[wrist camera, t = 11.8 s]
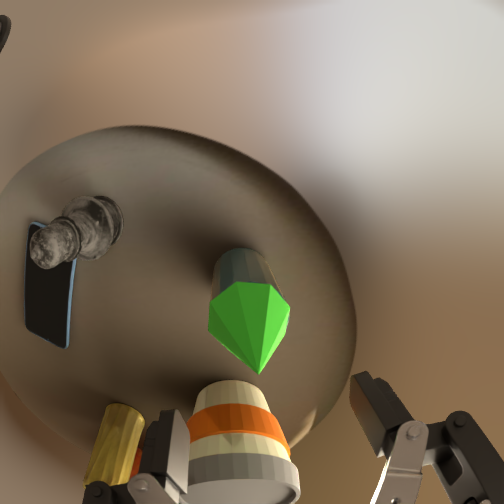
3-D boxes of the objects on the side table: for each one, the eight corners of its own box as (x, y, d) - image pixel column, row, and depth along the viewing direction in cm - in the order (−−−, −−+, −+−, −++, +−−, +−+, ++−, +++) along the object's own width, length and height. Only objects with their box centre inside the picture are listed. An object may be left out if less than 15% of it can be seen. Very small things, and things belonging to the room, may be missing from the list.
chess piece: (76, 246, 25) (7, 290, 14) (78, 191, 24) (1, 207, 12) (124, 254, 26) (68, 306, 15) (128, 195, 25) (64, 214, 13)
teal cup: (207, 253, 27) (200, 291, 18) (265, 242, 27) (283, 275, 19) (220, 305, 29) (219, 357, 20) (273, 294, 29) (292, 343, 20)
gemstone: (280, 268, 19) (304, 310, 13) (298, 340, 20) (321, 393, 14) (193, 293, 18) (181, 344, 13) (221, 362, 20) (222, 420, 14)
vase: (110, 396, 31) (80, 476, 17) (150, 414, 32) (133, 498, 19) (102, 417, 32) (77, 489, 19) (139, 433, 34) (123, 508, 20)
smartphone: (77, 240, 24) (67, 352, 28) (80, 238, 25) (70, 348, 29) (27, 219, 23) (23, 329, 26) (31, 218, 24) (26, 326, 27)
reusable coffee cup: (297, 397, 34) (328, 489, 19) (234, 440, 35) (241, 524, 21) (226, 351, 30) (232, 463, 16) (164, 403, 32) (148, 498, 18)
